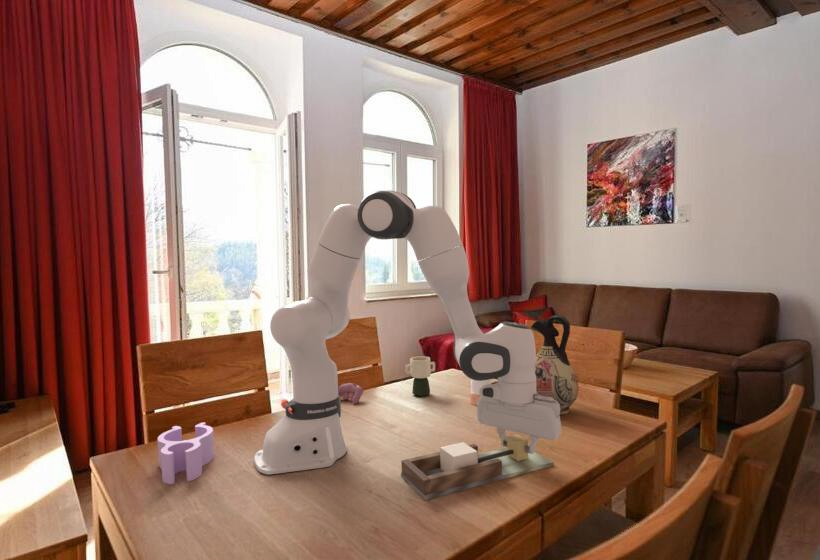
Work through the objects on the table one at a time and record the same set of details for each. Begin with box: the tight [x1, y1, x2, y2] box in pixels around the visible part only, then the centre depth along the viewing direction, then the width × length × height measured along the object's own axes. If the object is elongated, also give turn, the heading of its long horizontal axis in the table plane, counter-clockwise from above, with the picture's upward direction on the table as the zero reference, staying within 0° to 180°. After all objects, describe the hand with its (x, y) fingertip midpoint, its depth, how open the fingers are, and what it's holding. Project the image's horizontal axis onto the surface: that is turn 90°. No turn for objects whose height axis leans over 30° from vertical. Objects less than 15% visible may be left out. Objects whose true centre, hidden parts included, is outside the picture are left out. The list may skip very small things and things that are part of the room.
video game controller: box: [338, 382, 364, 405], centre depth 167 cm, size 10×5×7 cm, turn 58°
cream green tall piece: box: [405, 355, 436, 397], centre depth 171 cm, size 11×7×13 cm, turn 107°
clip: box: [157, 422, 215, 485], centre depth 119 cm, size 20×12×7 cm, turn 18°
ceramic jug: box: [529, 314, 580, 416], centre depth 148 cm, size 17×15×30 cm
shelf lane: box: [400, 443, 555, 501], centre depth 110 cm, size 33×12×4 cm, turn 115°
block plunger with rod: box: [439, 434, 529, 472], centre depth 111 cm, size 20×6×5 cm, turn 115°
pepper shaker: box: [469, 379, 492, 406], centre depth 160 cm, size 7×7×19 cm
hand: (517, 449), depth 115 cm, fingers open, 5 cm apart
